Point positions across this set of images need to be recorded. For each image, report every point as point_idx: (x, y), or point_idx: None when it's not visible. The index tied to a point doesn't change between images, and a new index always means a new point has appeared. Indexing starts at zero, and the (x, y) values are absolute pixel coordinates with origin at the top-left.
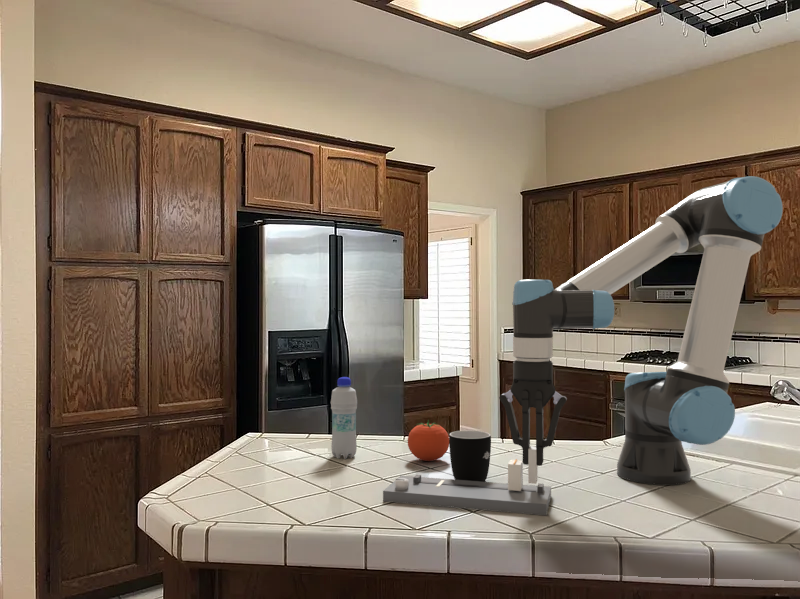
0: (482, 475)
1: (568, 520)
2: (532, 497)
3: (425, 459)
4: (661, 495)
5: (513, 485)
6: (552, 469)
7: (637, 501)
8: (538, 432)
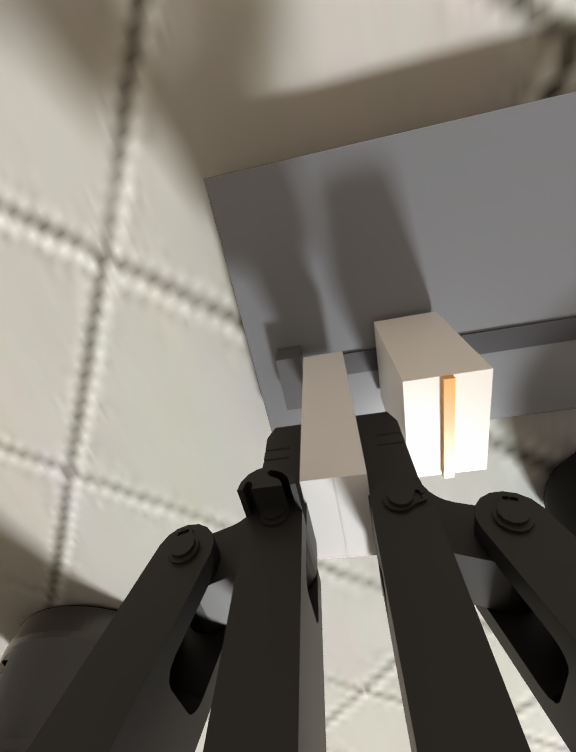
0: (574, 485)
1: (110, 154)
2: (300, 264)
3: None
4: (13, 543)
5: (414, 324)
6: (349, 642)
7: (33, 478)
8: (267, 654)
